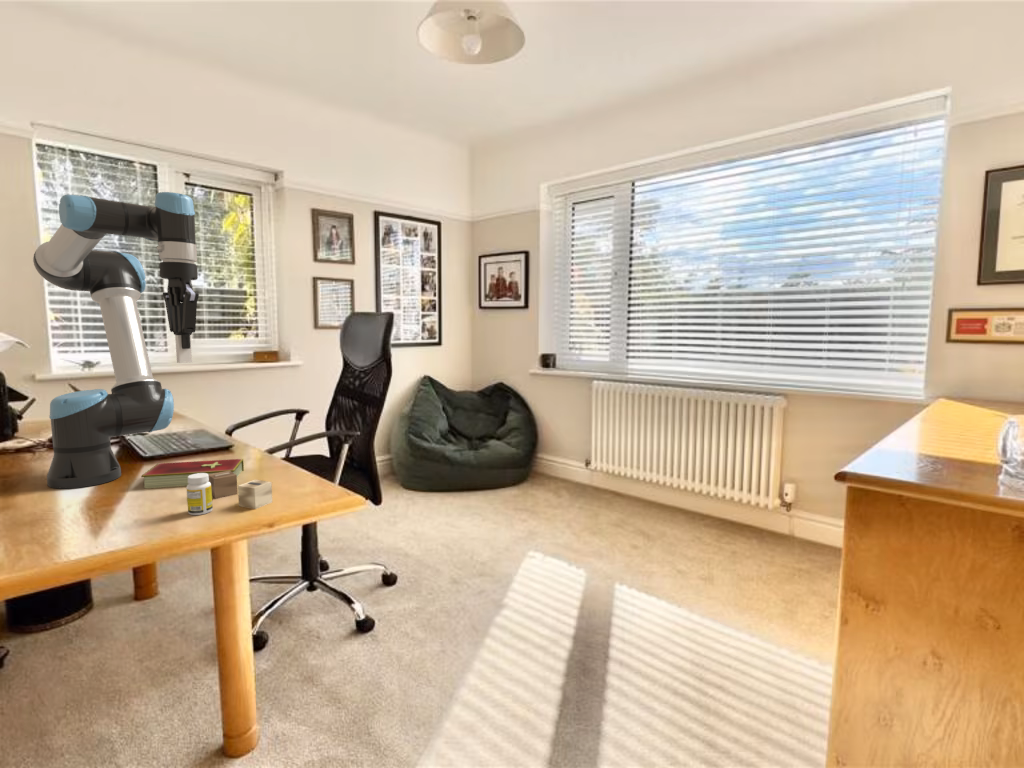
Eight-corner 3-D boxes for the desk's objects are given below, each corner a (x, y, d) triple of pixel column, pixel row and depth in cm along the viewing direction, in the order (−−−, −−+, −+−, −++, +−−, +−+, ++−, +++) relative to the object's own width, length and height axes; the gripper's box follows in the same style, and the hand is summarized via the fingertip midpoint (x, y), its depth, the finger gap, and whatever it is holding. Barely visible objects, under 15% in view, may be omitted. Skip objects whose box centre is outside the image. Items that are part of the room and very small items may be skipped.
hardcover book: (159, 477, 144) (158, 462, 143) (243, 471, 150) (243, 457, 149) (142, 490, 132) (141, 474, 132) (234, 484, 138) (233, 469, 138)
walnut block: (208, 494, 130) (207, 474, 129) (230, 489, 133) (229, 470, 133) (215, 499, 126) (214, 478, 126) (237, 494, 130) (236, 474, 129)
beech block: (238, 506, 122) (237, 485, 121) (256, 499, 126) (255, 479, 126) (255, 509, 120) (254, 487, 119) (272, 502, 125) (271, 481, 124)
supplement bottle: (207, 506, 121) (205, 471, 120) (216, 511, 118) (214, 475, 117) (184, 512, 117) (182, 475, 116) (192, 517, 114) (190, 480, 113)
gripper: (148, 262, 124) (155, 361, 127) (173, 259, 117) (180, 365, 120) (182, 265, 130) (188, 359, 133) (208, 262, 123) (214, 363, 126)
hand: (184, 362), depth 126 cm, fingers closed
